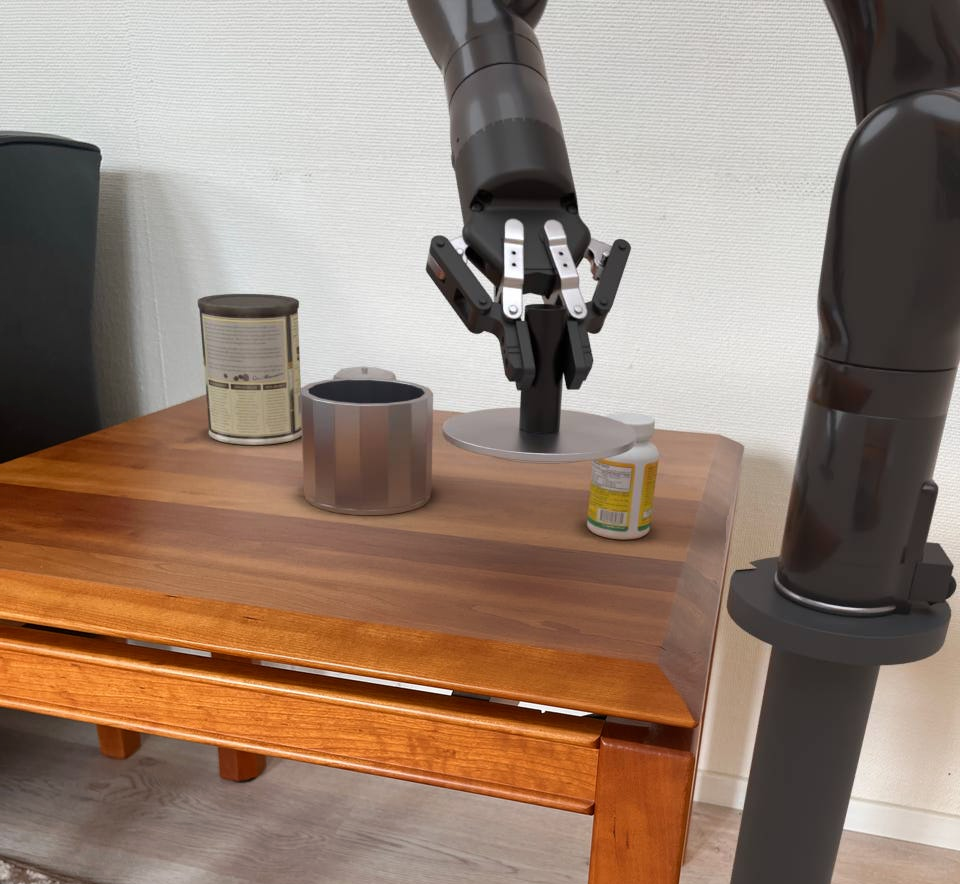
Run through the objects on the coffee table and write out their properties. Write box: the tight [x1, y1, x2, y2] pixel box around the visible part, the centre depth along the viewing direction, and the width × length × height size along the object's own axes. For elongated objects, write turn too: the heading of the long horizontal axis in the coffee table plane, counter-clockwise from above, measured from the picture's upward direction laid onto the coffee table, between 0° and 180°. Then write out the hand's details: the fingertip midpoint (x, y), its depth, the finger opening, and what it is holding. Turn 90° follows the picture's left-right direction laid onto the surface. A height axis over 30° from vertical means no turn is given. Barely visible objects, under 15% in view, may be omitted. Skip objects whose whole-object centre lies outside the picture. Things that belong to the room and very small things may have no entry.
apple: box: [332, 365, 397, 380], centre depth 116 cm, size 8×8×7 cm
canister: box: [300, 378, 434, 516], centre depth 91 cm, size 11×11×10 cm
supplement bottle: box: [586, 412, 660, 541], centre depth 85 cm, size 5×5×10 cm
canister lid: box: [442, 303, 637, 465], centre depth 64 cm, size 12×12×9 cm
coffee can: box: [197, 293, 302, 446], centre depth 109 cm, size 10×10×14 cm
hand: (552, 381), depth 62 cm, fingers closed on canister lid, 2 cm apart
